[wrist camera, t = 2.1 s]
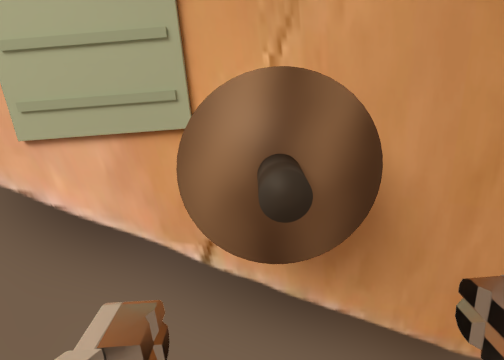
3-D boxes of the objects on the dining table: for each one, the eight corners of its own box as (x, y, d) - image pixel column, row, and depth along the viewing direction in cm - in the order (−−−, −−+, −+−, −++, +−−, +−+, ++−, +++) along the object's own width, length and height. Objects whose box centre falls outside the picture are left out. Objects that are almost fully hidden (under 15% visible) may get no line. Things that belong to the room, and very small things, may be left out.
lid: (383, 58, 19) (425, 52, 14) (373, 251, 23) (404, 295, 18) (164, 75, 19) (137, 75, 14) (193, 263, 23) (178, 309, 19)
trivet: (165, -83, 24) (162, -88, 23) (193, 126, 29) (191, 128, 28) (-40, -64, 25) (-50, -69, 24) (22, 140, 30) (16, 141, 29)
